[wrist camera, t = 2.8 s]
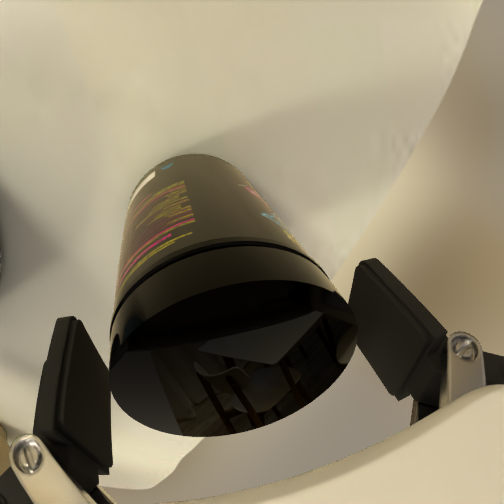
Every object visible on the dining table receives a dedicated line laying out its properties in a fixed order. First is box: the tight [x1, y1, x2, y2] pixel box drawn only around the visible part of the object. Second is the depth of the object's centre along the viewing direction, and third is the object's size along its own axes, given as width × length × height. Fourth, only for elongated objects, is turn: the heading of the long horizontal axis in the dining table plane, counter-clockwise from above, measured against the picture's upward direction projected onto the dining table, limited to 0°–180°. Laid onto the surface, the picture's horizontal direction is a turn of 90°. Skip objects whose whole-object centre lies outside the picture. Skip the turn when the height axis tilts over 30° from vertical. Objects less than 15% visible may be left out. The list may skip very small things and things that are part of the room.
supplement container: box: [109, 154, 358, 437], centre depth 12 cm, size 7×7×10 cm
